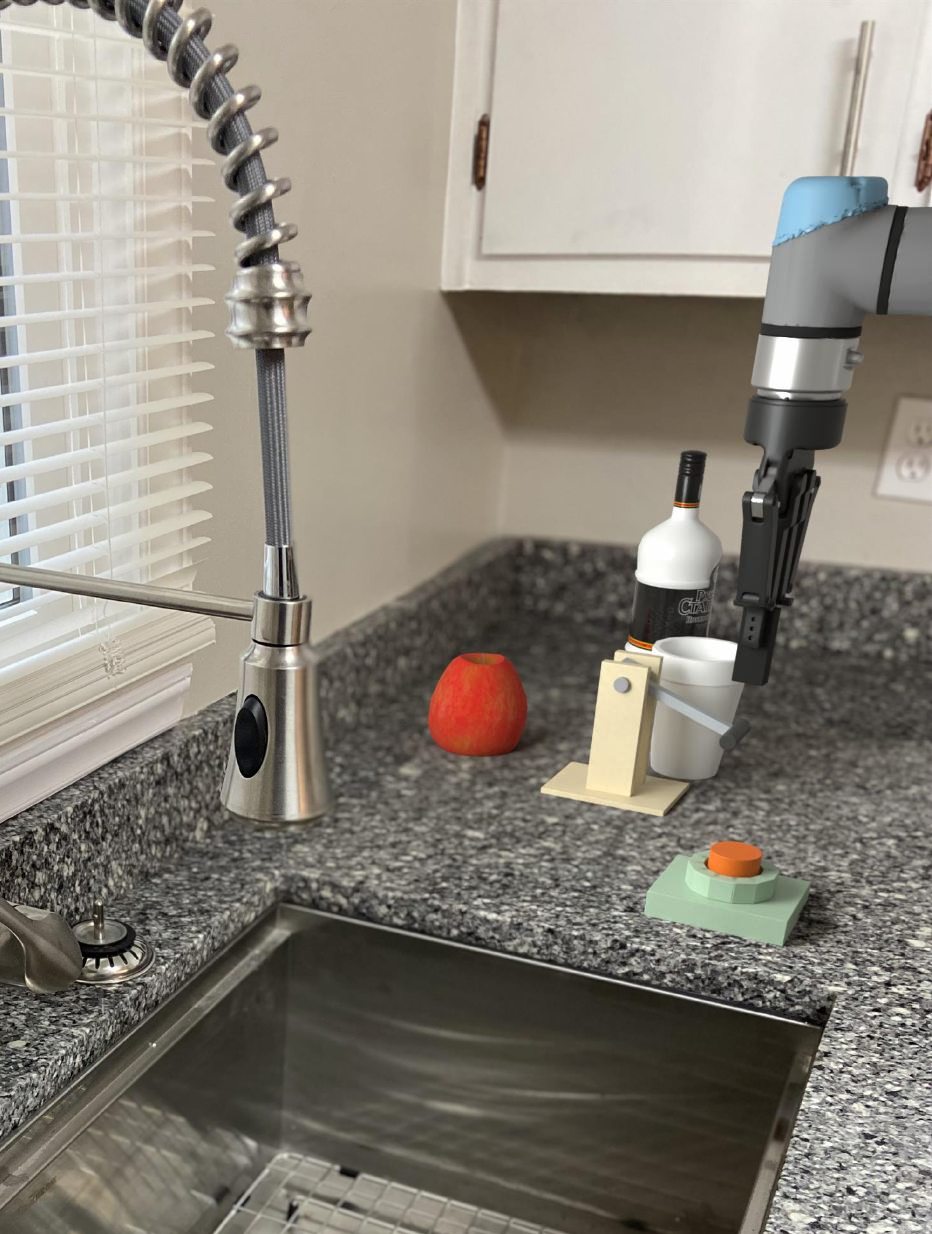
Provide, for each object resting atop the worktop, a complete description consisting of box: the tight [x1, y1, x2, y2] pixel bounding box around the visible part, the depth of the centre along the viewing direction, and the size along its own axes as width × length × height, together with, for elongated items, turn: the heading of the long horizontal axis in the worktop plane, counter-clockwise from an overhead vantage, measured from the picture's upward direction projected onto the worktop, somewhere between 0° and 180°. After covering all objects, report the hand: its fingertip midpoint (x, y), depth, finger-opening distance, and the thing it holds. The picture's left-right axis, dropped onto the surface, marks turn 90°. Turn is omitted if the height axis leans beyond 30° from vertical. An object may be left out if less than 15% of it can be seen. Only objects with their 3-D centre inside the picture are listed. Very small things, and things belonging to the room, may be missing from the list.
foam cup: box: [650, 637, 746, 781], centre depth 148 cm, size 10×9×13 cm
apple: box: [427, 651, 529, 757], centre depth 156 cm, size 10×10×10 cm
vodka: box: [624, 449, 723, 654], centre depth 155 cm, size 9×9×30 cm
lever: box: [621, 657, 752, 751], centre depth 139 cm, size 13×6×2 cm, turn 59°
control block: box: [643, 849, 812, 947], centre depth 121 cm, size 11×9×4 cm
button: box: [707, 840, 763, 878], centre depth 120 cm, size 4×4×2 cm
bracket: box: [540, 649, 690, 818], centre depth 142 cm, size 12×9×14 cm
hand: (749, 681), depth 129 cm, fingers closed
